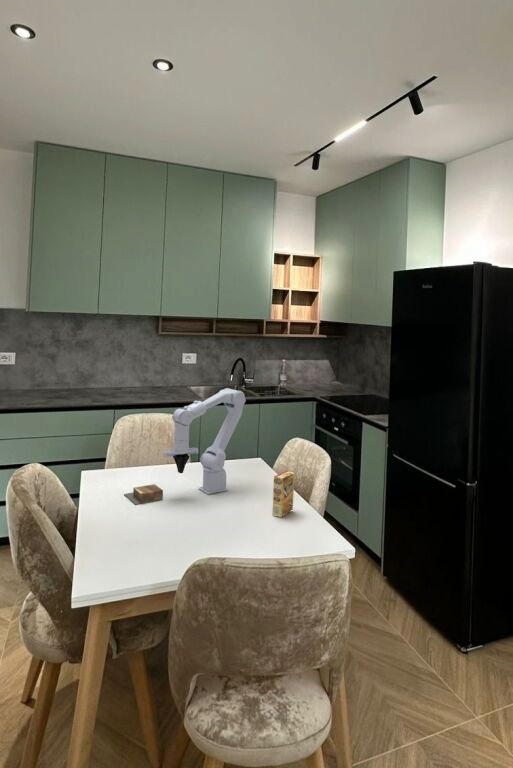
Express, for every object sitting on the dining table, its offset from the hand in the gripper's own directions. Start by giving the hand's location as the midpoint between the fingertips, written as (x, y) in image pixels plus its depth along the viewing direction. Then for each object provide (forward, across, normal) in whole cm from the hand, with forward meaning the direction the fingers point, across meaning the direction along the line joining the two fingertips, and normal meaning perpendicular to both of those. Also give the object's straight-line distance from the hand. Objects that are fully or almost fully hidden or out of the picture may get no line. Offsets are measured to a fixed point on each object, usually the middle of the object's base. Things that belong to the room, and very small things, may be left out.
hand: (180, 472), depth 191 cm
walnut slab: (+8, +7, -5) cm, 12 cm away
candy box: (+10, -26, +33) cm, 44 cm away
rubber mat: (+10, +13, -7) cm, 18 cm away
